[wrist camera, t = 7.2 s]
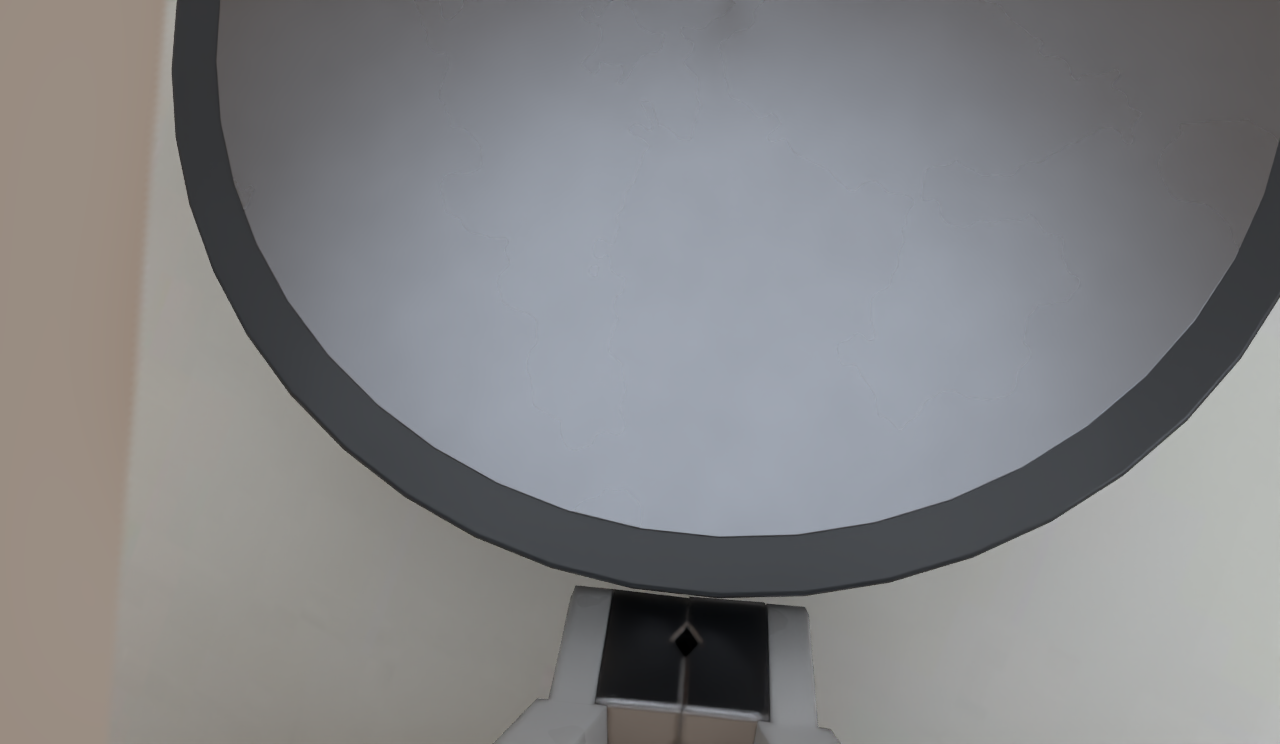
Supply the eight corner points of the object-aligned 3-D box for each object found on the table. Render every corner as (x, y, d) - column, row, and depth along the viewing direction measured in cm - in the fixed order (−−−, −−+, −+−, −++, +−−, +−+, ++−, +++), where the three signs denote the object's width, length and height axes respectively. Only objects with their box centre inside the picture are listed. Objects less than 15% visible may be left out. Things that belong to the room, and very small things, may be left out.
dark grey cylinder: (954, 592, 15) (1330, 717, 6) (396, 494, 16) (29, 480, 7) (1034, -180, 18) (1384, -880, 9) (550, -223, 19) (420, -889, 10)
